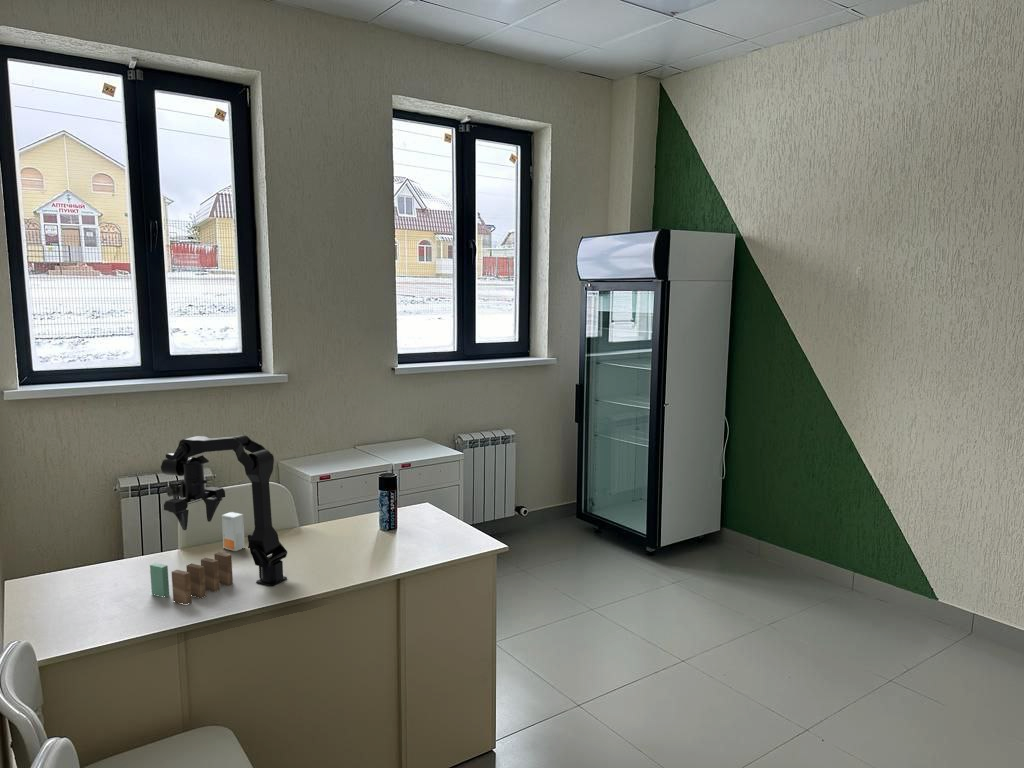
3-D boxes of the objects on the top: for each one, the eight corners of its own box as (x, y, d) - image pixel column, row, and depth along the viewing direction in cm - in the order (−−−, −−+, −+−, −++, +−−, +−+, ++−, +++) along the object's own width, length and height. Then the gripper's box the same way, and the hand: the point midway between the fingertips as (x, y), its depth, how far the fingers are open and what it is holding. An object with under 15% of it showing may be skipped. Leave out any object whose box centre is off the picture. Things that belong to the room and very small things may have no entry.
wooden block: (220, 580, 213) (219, 552, 212) (232, 583, 211) (231, 554, 210) (215, 582, 212) (214, 554, 211) (228, 585, 210) (226, 556, 208)
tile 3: (207, 586, 209) (205, 557, 208) (219, 589, 207) (218, 560, 206) (202, 589, 207) (200, 559, 206) (214, 591, 205) (213, 562, 204)
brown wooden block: (178, 599, 200) (176, 569, 199) (191, 603, 198) (189, 572, 197) (173, 602, 198) (171, 571, 197) (186, 605, 196) (184, 574, 195)
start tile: (157, 592, 205) (155, 562, 204) (169, 595, 203) (167, 565, 202) (151, 594, 203) (149, 564, 202) (164, 597, 201) (162, 567, 200)
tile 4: (193, 593, 204) (191, 563, 203) (205, 596, 202) (204, 566, 201) (188, 595, 203) (186, 565, 202) (200, 598, 201) (198, 568, 200)
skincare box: (222, 548, 240) (220, 514, 239) (233, 544, 244) (231, 511, 242) (235, 551, 237) (233, 517, 236) (245, 547, 241) (243, 514, 239)
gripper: (200, 467, 230) (203, 514, 232) (149, 481, 214) (153, 531, 216) (225, 471, 226) (227, 518, 227) (175, 485, 209) (178, 536, 211)
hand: (197, 525), depth 220 cm, fingers open, 9 cm apart
